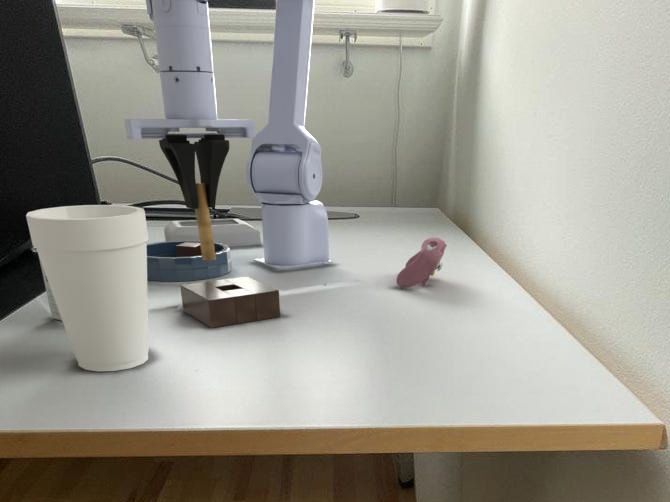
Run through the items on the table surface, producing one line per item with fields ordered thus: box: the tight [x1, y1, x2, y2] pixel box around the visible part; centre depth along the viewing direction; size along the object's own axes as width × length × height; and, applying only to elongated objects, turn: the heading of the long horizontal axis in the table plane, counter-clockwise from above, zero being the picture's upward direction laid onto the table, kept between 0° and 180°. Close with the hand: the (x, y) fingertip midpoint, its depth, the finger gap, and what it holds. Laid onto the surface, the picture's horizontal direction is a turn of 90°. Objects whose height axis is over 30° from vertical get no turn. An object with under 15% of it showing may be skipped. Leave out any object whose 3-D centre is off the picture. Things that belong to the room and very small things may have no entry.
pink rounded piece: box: [395, 237, 448, 289], centre depth 90 cm, size 10×5×7 cm, turn 168°
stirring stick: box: [194, 182, 216, 261], centre depth 79 cm, size 2×2×8 cm
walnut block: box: [176, 242, 202, 257], centre depth 97 cm, size 3×3×3 cm
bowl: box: [147, 241, 233, 282], centre depth 94 cm, size 14×14×4 cm
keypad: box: [163, 218, 262, 247], centre depth 114 cm, size 10×4×15 cm
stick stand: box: [179, 276, 281, 329], centre depth 76 cm, size 8×8×3 cm
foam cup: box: [25, 204, 150, 372], centre depth 59 cm, size 10×9×13 cm
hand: (200, 207), depth 78 cm, fingers closed on stirring stick, 1 cm apart
